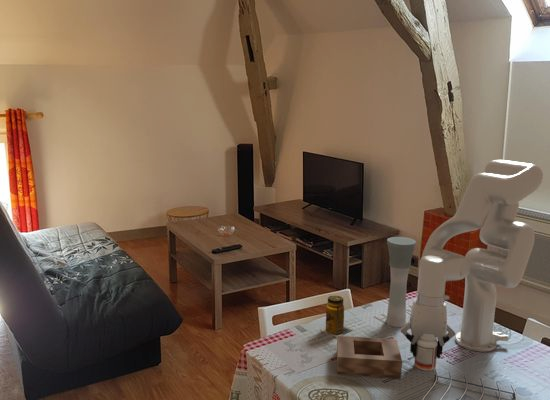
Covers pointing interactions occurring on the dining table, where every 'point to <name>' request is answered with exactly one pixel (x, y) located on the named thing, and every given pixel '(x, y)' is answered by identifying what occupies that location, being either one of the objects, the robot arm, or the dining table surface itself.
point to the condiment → (335, 317)
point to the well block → (368, 357)
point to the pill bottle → (426, 352)
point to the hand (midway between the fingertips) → (425, 354)
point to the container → (399, 278)
